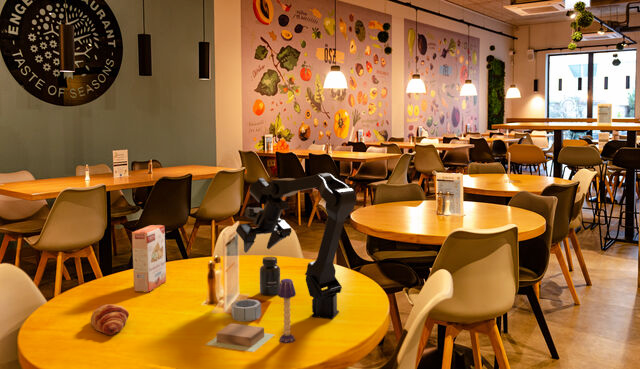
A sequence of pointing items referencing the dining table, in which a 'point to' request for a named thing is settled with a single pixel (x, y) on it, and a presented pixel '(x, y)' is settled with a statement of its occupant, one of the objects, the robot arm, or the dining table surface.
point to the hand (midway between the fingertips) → (256, 250)
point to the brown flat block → (240, 335)
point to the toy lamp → (286, 308)
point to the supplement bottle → (269, 276)
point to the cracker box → (149, 257)
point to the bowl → (246, 310)
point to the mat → (251, 349)
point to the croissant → (109, 318)
